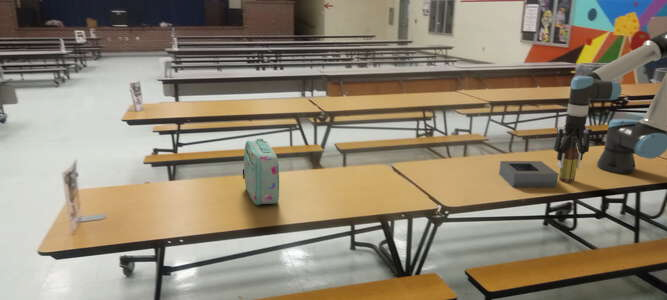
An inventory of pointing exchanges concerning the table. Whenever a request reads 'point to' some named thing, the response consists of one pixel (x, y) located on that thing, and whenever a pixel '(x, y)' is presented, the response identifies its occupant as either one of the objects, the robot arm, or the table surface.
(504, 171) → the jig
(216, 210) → the table surface
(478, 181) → the table surface
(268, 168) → the lunch box
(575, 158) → the sauce bottle
